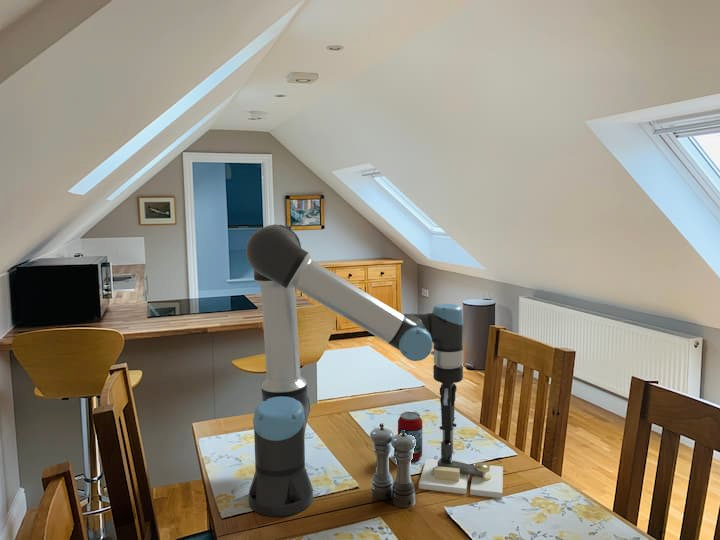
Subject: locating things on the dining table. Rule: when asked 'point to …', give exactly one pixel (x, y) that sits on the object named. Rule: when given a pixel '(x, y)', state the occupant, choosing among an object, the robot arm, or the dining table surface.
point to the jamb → (488, 483)
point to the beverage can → (412, 430)
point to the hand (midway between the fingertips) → (448, 451)
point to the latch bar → (469, 469)
